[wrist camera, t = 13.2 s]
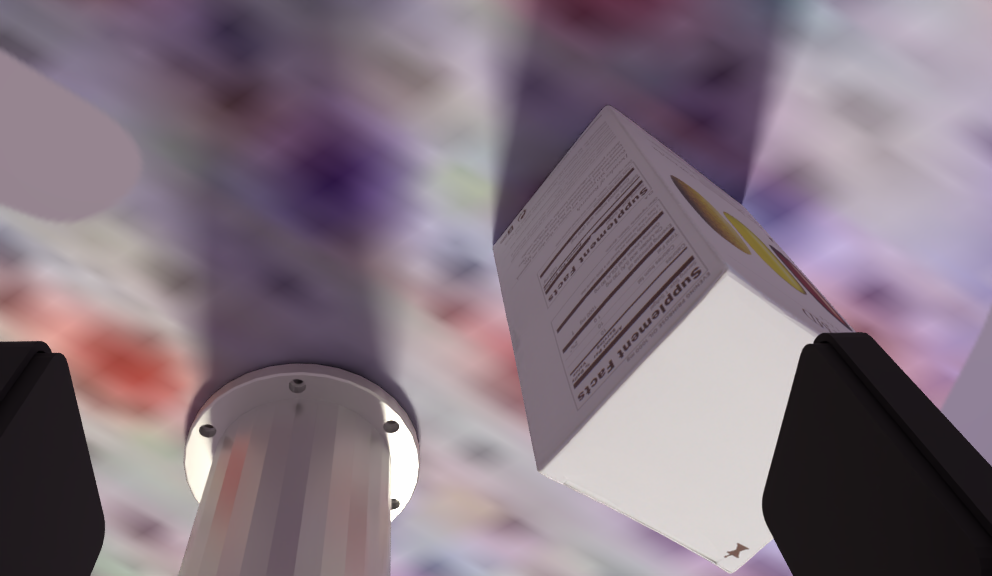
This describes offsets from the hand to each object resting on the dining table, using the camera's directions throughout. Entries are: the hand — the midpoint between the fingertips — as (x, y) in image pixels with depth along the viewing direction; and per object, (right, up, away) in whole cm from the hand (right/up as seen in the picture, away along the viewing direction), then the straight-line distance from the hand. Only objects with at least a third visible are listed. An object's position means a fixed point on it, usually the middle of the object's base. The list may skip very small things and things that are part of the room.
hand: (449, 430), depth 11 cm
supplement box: (+7, +5, +31) cm, 32 cm away
